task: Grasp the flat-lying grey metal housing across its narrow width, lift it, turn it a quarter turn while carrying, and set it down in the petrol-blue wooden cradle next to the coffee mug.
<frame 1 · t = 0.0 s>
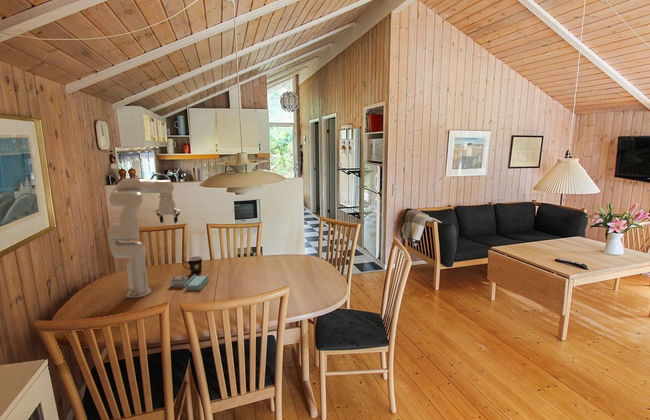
hand: (169, 222, 247), 31 cm above the table, fingers open, 9 cm apart
stand: (197, 285, 221), on the table
housing: (179, 285, 221), on the table
coffee mug: (194, 272, 241), on the table
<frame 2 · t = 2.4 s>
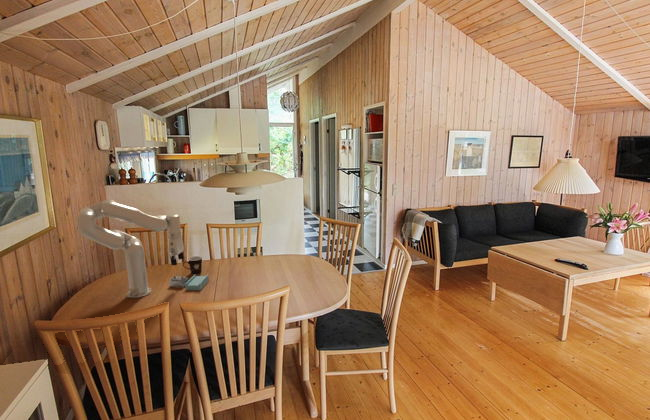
hand: (177, 262, 218), 15 cm above the table, fingers open, 9 cm apart
nothing on the table moved.
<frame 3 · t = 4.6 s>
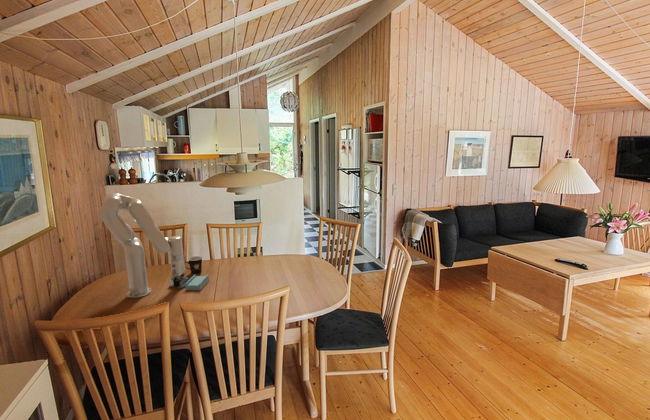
hand: (179, 283, 221), 1 cm above the table, fingers closed on housing, 7 cm apart
housing: (179, 285, 221), on the table, touching gripper
everything else where it was.
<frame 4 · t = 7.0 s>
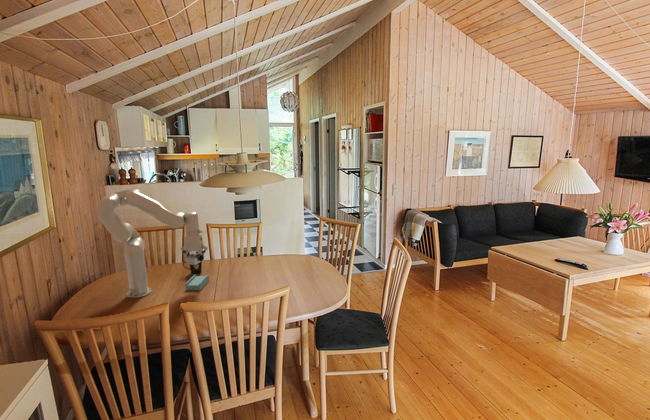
hand: (195, 260, 218), 16 cm above the table, fingers closed on housing, 7 cm apart
housing: (195, 261, 218), point 15 cm above the table, touching gripper
everything else where it was.
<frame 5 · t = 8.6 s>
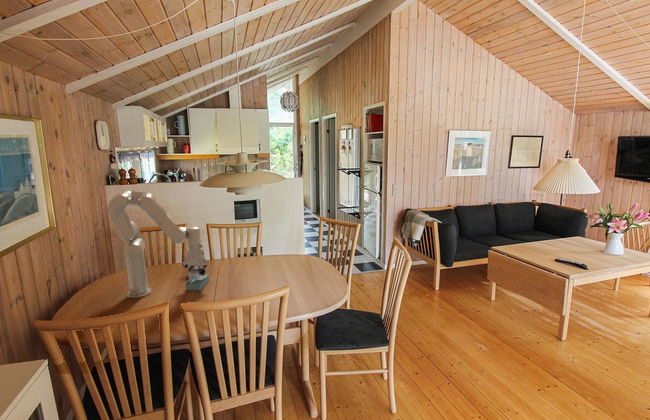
hand: (197, 274, 220), 7 cm above the table, fingers closed on housing, 7 cm apart
housing: (197, 275, 220), point 6 cm above the table, touching gripper
everything else where it was.
when the fingers open (5 cm above the table, at t = 9.9 s): housing stays where it is, resting on stand.
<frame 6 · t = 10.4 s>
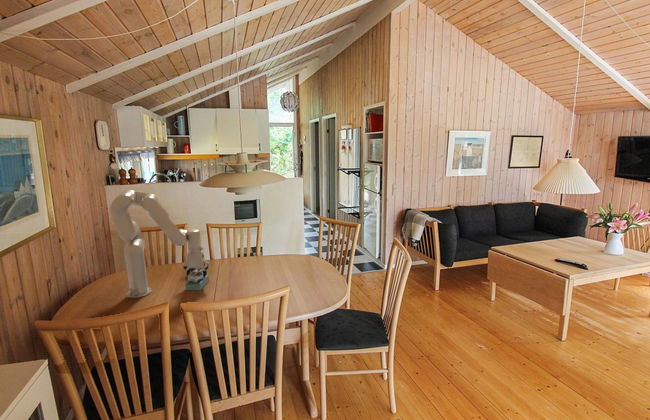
hand: (197, 276, 220), 6 cm above the table, fingers open, 9 cm apart
housing: (196, 279, 220), point 4 cm above the table, touching stand
everything else where it was.
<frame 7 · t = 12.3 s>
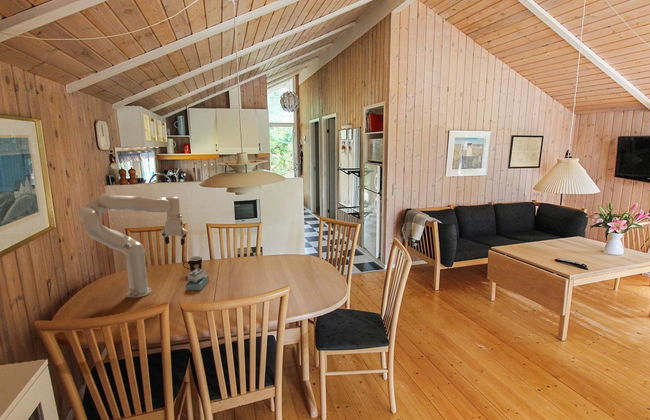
hand: (175, 244, 221), 25 cm above the table, fingers open, 9 cm apart
nothing on the table moved.
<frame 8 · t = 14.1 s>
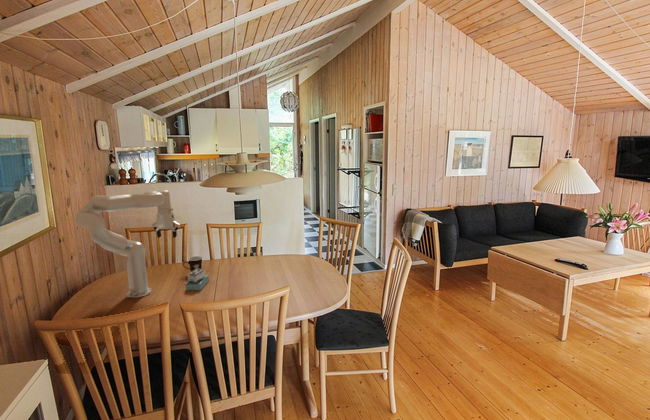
hand: (167, 237, 223), 28 cm above the table, fingers open, 9 cm apart
nothing on the table moved.
at the end: housing 0.2 cm off-centre on the stand, point 4.0 cm above the stand's base; housing tilted 0°; the gripper is holding nothing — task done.
